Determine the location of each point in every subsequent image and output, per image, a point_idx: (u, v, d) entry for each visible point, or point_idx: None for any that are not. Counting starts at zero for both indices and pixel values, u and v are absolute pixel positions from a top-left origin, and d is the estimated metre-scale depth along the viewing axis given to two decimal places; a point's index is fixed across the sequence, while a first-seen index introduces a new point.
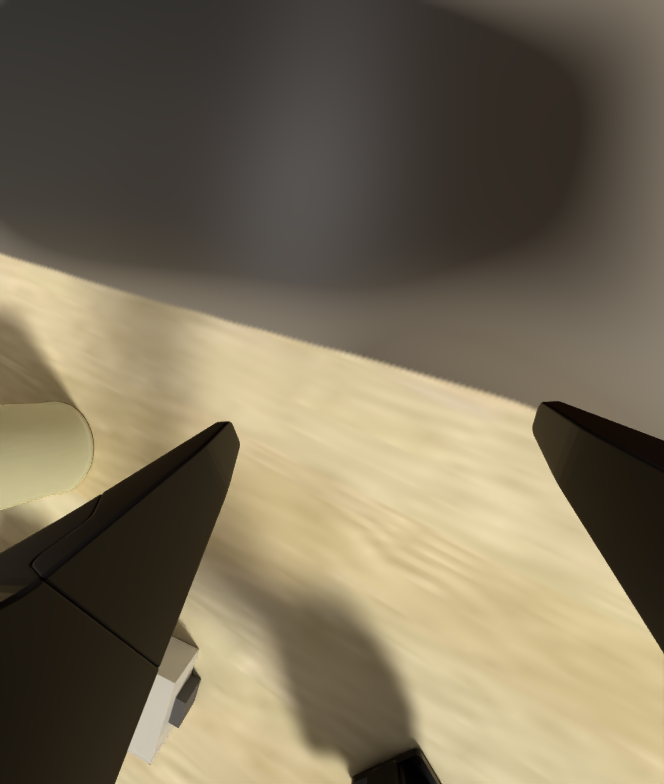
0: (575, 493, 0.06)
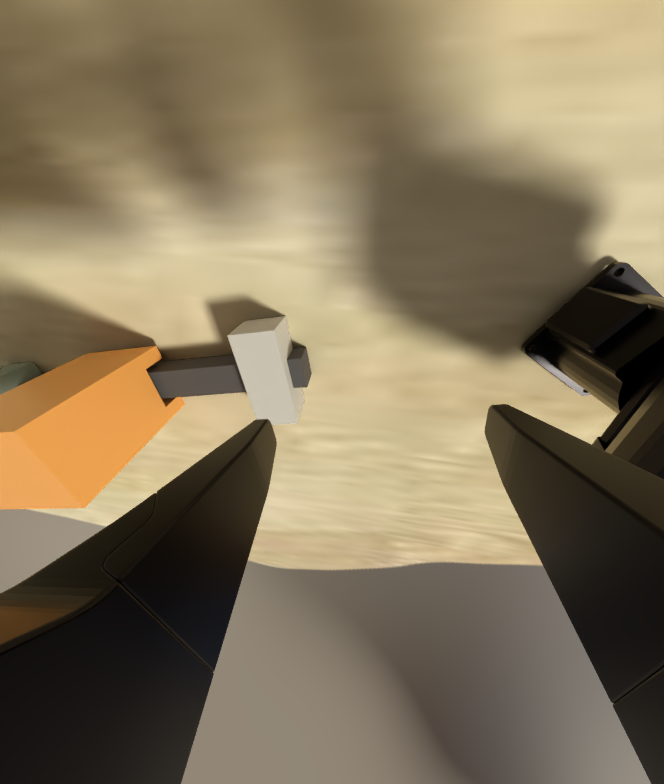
0: (516, 494, 0.07)
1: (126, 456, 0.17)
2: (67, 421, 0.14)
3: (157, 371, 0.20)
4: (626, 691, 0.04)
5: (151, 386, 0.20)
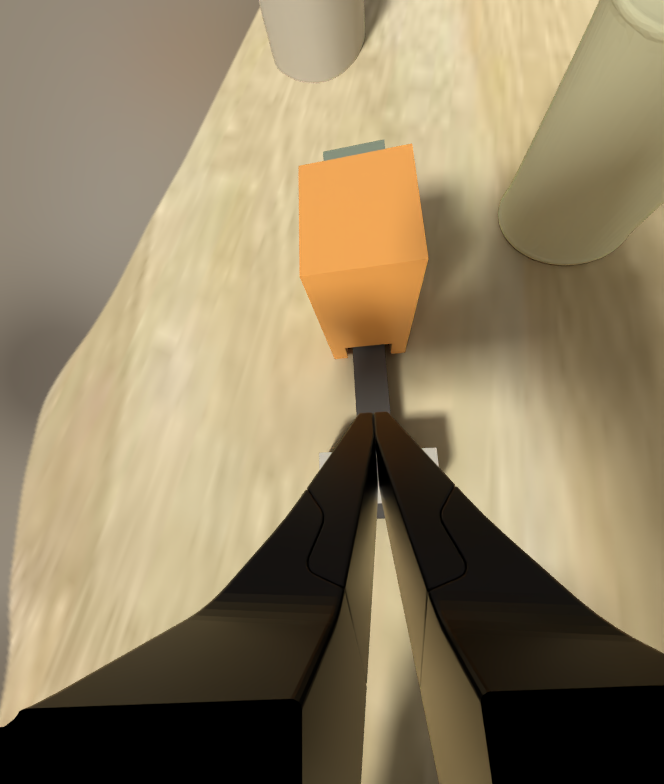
0: (382, 497, 0.07)
1: (324, 315, 0.15)
2: (400, 290, 0.13)
3: (384, 350, 0.19)
4: (420, 676, 0.05)
5: (373, 343, 0.19)
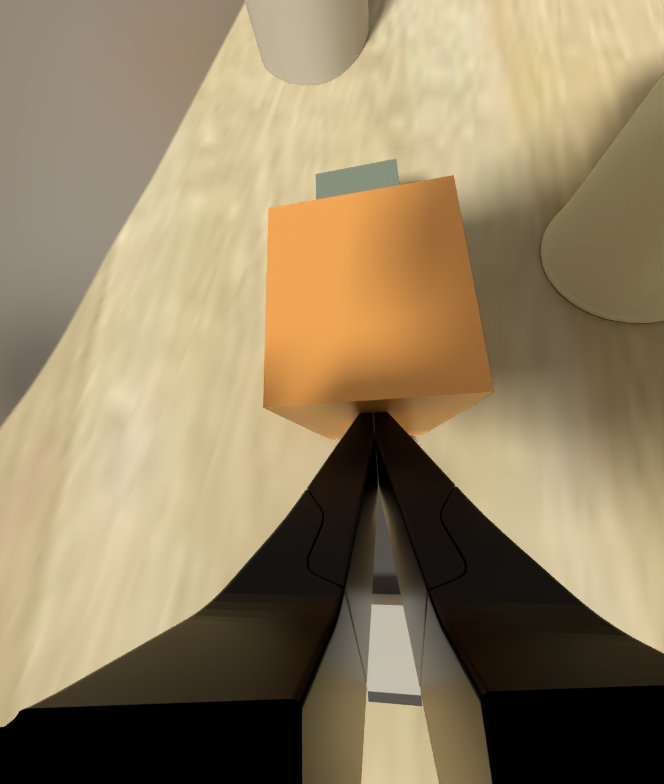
0: (382, 497, 0.07)
1: (311, 424, 0.10)
2: (431, 410, 0.08)
3: None
4: (420, 676, 0.05)
5: None
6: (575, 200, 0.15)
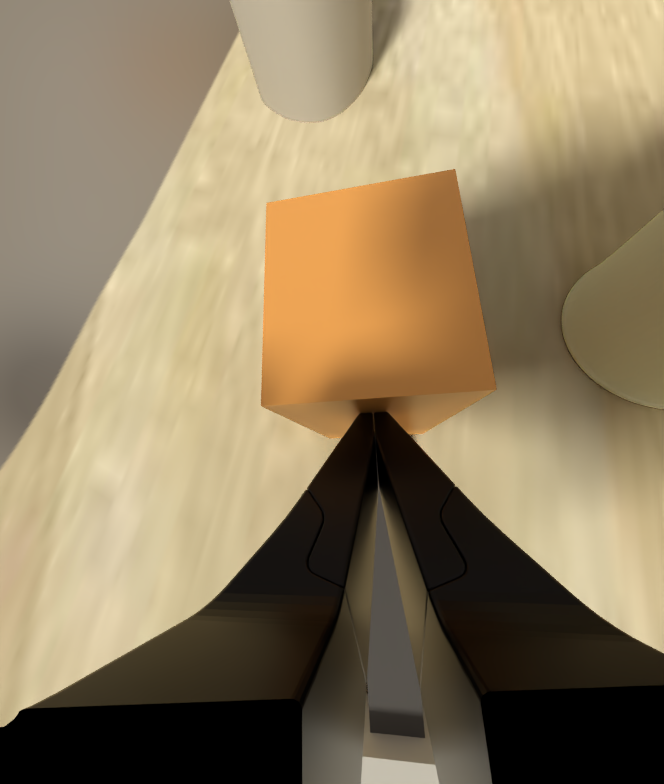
0: (382, 496, 0.07)
1: (310, 423, 0.10)
2: (432, 409, 0.08)
3: None
4: (421, 676, 0.05)
5: None
6: (604, 279, 0.13)
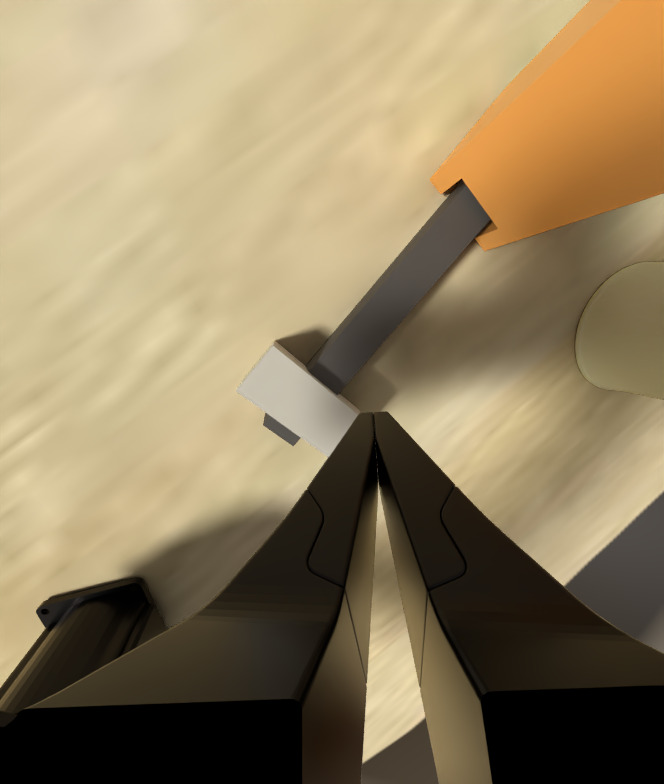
0: (382, 497, 0.07)
1: (535, 97, 0.09)
2: (638, 173, 0.09)
3: (415, 304, 0.16)
4: (421, 676, 0.05)
5: (488, 208, 0.14)
6: None
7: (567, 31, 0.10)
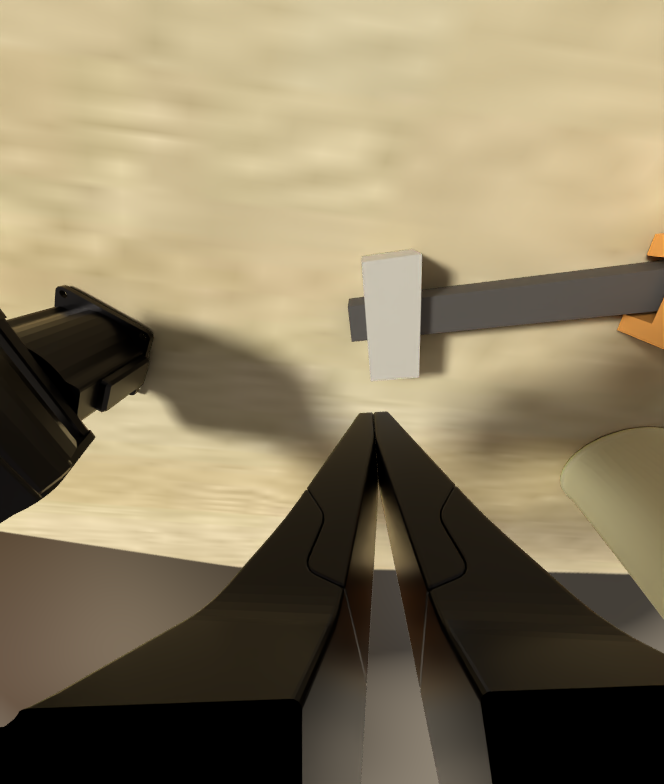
0: (382, 496, 0.07)
1: None
2: None
3: (536, 322, 0.16)
4: (421, 676, 0.05)
5: None
6: None
7: None
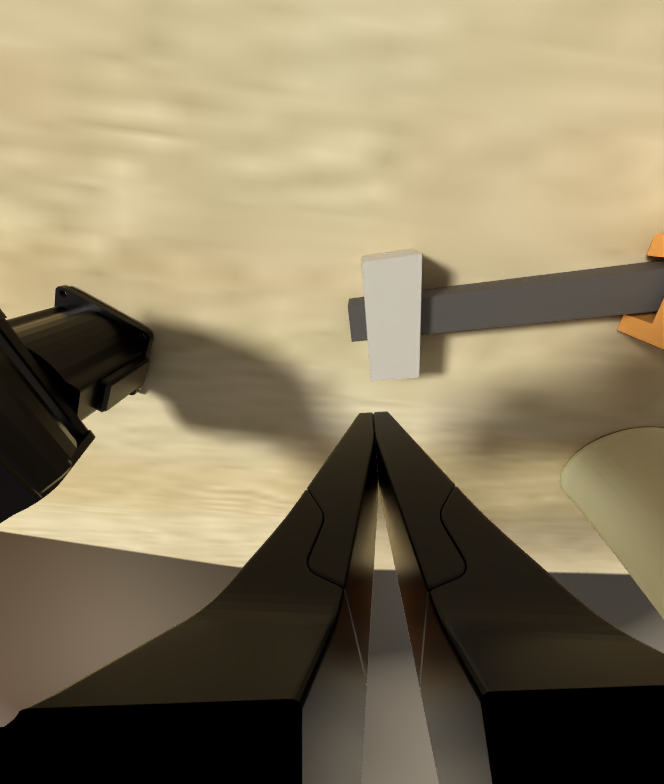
0: (382, 497, 0.07)
1: None
2: None
3: (536, 322, 0.16)
4: (421, 676, 0.05)
5: None
6: None
7: None
